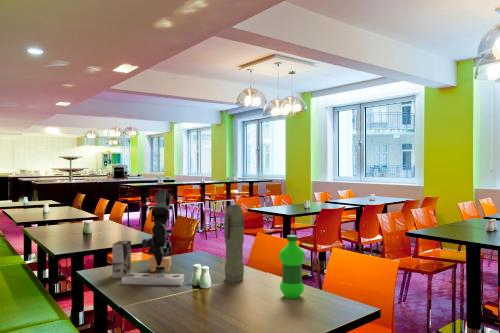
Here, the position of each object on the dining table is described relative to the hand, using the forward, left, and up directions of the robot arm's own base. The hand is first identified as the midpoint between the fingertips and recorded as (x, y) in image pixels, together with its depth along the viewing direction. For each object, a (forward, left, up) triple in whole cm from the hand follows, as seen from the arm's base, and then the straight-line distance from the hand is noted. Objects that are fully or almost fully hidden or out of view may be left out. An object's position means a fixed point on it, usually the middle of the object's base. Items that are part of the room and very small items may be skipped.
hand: (160, 264), depth 192 cm
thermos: (+4, +37, -6) cm, 37 cm away
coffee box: (+1, -18, -6) cm, 19 cm away
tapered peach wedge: (0, 0, -3) cm, 3 cm away
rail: (+10, 0, -5) cm, 12 cm away
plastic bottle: (+25, +63, -6) cm, 68 cm away
